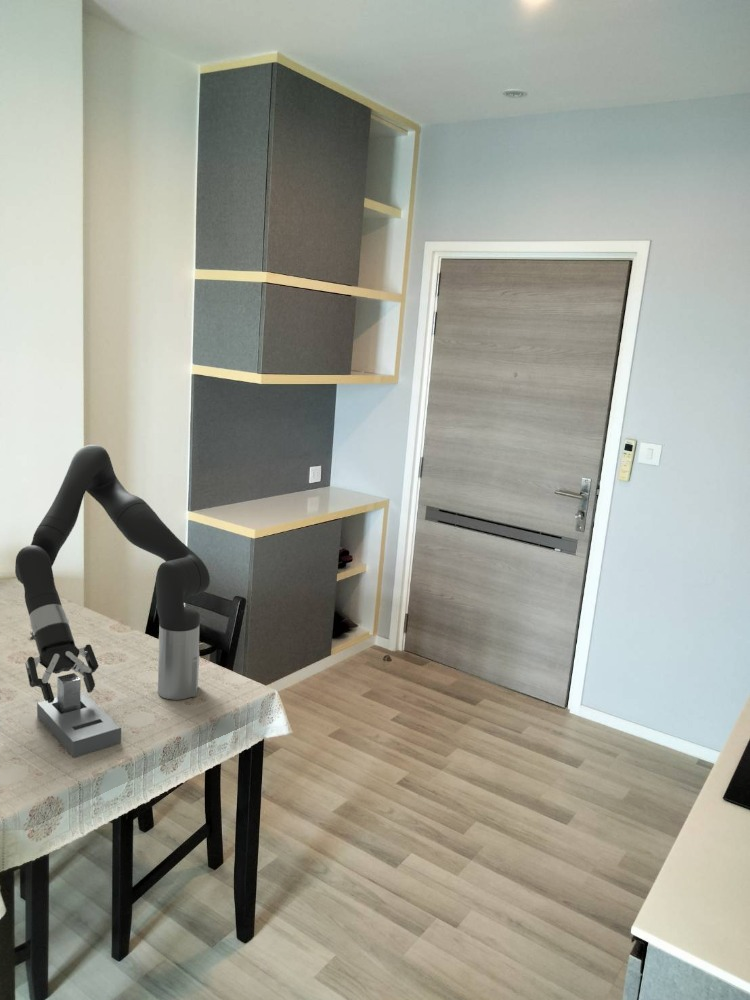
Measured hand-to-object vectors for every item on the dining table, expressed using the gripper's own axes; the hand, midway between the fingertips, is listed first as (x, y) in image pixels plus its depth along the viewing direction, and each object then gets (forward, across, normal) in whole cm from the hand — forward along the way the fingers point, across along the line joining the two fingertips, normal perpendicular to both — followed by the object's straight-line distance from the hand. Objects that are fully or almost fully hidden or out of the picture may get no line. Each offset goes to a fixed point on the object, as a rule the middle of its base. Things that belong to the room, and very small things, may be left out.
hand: (71, 696), depth 164 cm
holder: (+7, 0, -2) cm, 7 cm away
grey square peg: (+3, 0, -5) cm, 6 cm away
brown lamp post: (-31, -12, -40) cm, 52 cm away
